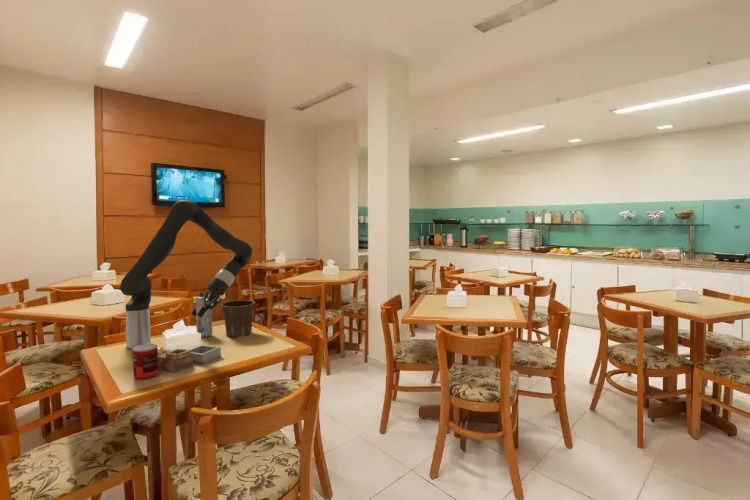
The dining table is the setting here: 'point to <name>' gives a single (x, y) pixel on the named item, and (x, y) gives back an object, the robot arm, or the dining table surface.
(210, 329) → the bottle
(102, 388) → the dining table surface
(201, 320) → the rod
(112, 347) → the dining table surface
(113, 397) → the dining table surface
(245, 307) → the plant pot
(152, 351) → the canned food
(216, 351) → the tray
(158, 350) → the release plunger
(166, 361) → the socket block
